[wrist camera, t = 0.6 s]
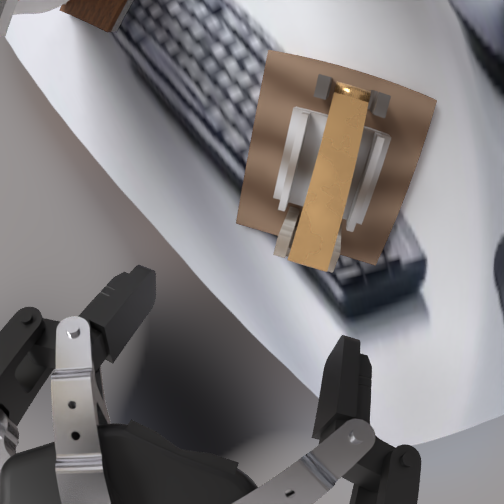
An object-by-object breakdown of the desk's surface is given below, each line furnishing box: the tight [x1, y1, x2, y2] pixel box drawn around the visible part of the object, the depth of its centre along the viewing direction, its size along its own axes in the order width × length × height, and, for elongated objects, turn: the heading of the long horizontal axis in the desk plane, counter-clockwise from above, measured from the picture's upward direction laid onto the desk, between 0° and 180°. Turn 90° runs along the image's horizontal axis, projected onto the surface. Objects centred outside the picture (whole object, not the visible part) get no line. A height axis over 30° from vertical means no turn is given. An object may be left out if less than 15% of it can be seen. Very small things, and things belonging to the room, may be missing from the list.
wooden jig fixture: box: [236, 50, 437, 273], centre depth 30 cm, size 21×18×9 cm
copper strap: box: [288, 81, 371, 272], centre depth 23 cm, size 16×3×2 cm, turn 171°
